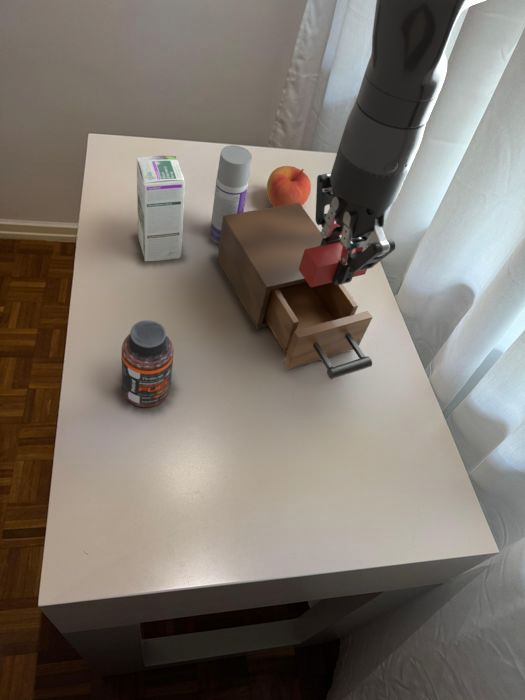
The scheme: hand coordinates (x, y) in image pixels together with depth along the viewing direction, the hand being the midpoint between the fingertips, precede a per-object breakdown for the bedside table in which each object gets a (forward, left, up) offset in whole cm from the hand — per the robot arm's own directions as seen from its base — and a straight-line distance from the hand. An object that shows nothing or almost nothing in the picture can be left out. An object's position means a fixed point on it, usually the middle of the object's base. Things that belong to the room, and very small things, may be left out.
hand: (332, 270), depth 71 cm
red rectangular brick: (0, 0, 0) cm, 0 cm away
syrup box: (+14, -23, -14) cm, 30 cm away
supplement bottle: (+24, +1, -14) cm, 28 cm away
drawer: (0, 0, -13) cm, 13 cm away
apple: (-10, -27, -14) cm, 32 cm away
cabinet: (0, -11, -14) cm, 18 cm away
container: (+3, -23, -14) cm, 27 cm away
